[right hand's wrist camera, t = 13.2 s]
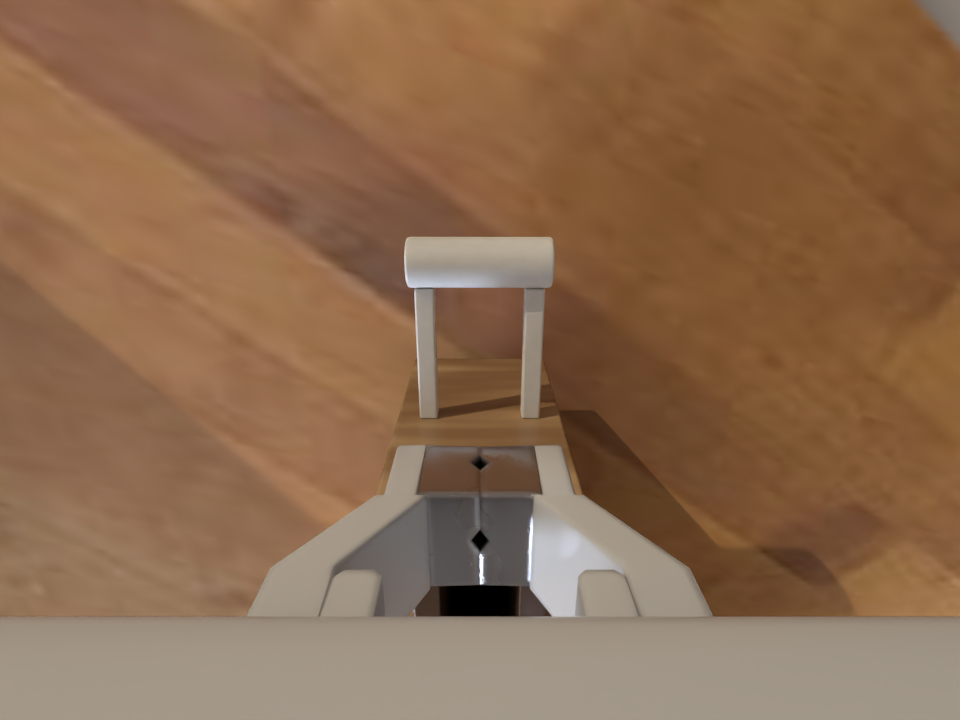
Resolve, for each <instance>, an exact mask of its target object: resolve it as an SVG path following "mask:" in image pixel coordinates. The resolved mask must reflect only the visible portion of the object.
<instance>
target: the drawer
mask: <svg viewBox="0 0 960 720" xmlns="http://www.w3.org/2000/svg"><path fill="white" fill-rule="evenodd" d="M404 266H405V278H406V283H407V285H408V287H410V288H415V291H414V296H415V319H416V341H417V359H416V360H415V363H414V367H413V370H412V374H411V377H410V380H409V384H408V387H407V391H406V394H405V397H404V401H403V404H402V408H401V411H400V415H399V418H398V421H397V425H396V428H395V432H394V435H393V438H392V442H391V445H390V449H389V452H388V455H387V459H386V462H385V466H384V469H383V473H382V476H381V479H380V483H379V486H378V490H377V493H376V495H384V494H385V490H386V486H387V483H388V479H389V475H390V472H391V468H392V464H393V461H394V457H395V454H396V450H397V448H398V447H399V446H400V445H426V446H427V445H439V446H480V447H489V446H530V445H534V446H539V445H561V446H562V447H563V451H564V454H565V458H566V461H567V465H568V468H569V472H570V476H571V479H572V483H573V486H574V490H575V494H576V495H583V492H582V489H581V485H580V482H579V479H578V475H577V472H576V468H575V465H574V462H573V458H572V455H571V451H570V448H569V445H568V441H567V438H566V434H565V431H564V428H563V424H562V421H561V417H560V414H559V411H558V407H557V404H556V401H555V397H554V394H553V390H552V387H551V384H550V380H549V377H548V373H547V370H546V367H545V363H544V360H543V359H542V347H543V325H544V303H545V290H544V288H549V287H551V286H552V284H553V280H554V271H555V247H554V241H553V239H552V238H551V237H408V238H407V239H406V242H405V252H404ZM435 288H524V312H523V345H522V359H437V338H436V304H435ZM545 613H546V608H545V607H544V606H543V604H542V603H541V602H540V601H539V599H538V598H537V597H536V596H535V594H534V593H533V592H532V591H531V589H530V586H498V585H460V586H430V590H429V591H428V593H427V594H426V595H425V596H424V597H423V599H422V600H421V601H420V602H419V604H418V605H417V606H416V607H415V609H414V616H545Z"/></svg>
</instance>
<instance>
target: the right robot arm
mask: <svg viewBox="0 0 960 720" xmlns="http://www.w3.org/2000/svg"><path fill="white" fill-rule="evenodd" d="M460 585H498V586H530V589H531V591H532V592H533V593H534V594H535V596H536V597H537V598H538V599H539V601H540V602H541V603H542V604H543V606H544V607H545V608H546V609H547V611H548V612H549V613H550V614H551V616H409V615H410V614H411V612H412V611H413V610H414V609H415V607H416V606H417V605H418V604H419V602H420V601H421V600H422V599H423V597H424V596H425V595H426V594H427V593H428V591H429V590H430V586H460ZM0 720H960V617H955V616H713V614H712V612H711V610H710V608H709V606H708V604H707V602H706V600H705V598H704V596H703V594H702V592H701V590H700V588H699V586H698V584H697V582H696V580H695V578H694V576H693V574H692V572H691V569H690V568H689V567H687V566H686V565H685V564H683V563H682V562H680V561H679V560H677V559H676V558H674V557H673V556H672V555H670V554H669V553H667V552H666V551H664V550H663V549H661V548H660V547H658V546H657V545H656V544H654V543H653V542H651V541H650V540H648V539H647V538H645V537H644V536H643V535H641V534H640V533H638V532H637V531H635V530H634V529H632V528H631V527H629V526H628V525H627V524H625V523H624V522H622V521H621V520H619V519H618V518H616V517H615V516H614V515H612V514H611V513H609V512H608V511H606V510H605V509H603V508H602V507H600V506H599V505H598V504H596V503H595V502H593V501H592V500H590V499H589V498H587V497H586V496H585V495H576V494H575V490H574V486H573V483H572V479H571V476H570V472H569V468H568V465H567V461H566V458H565V454H564V451H563V447H562V446H561V445H539V446H534V445H530V446H489V447H480V446H439V445H427V446H426V445H400V446H399V447H398V448H397V450H396V454H395V457H394V461H393V464H392V468H391V472H390V475H389V479H388V483H387V486H386V490H385V494H384V495H375V496H374V497H373V498H371V499H370V500H368V501H367V502H365V503H364V504H362V505H361V506H359V507H358V508H357V509H355V510H354V511H352V512H351V513H349V514H348V515H346V516H345V517H343V518H342V519H341V520H339V521H338V522H336V523H335V524H333V525H332V526H330V527H329V528H327V529H326V530H324V531H323V532H322V533H320V534H319V535H317V536H316V537H314V538H313V539H311V540H310V541H308V542H307V543H306V544H304V545H303V546H301V547H300V548H298V549H297V550H295V551H294V552H292V553H291V554H290V555H288V556H287V557H285V558H284V559H282V560H281V561H279V562H278V563H276V564H275V565H273V566H272V567H271V568H270V570H269V572H268V574H267V576H266V578H265V580H264V582H263V584H262V586H261V588H260V590H259V592H258V594H257V596H256V598H255V600H254V602H253V604H252V606H251V608H250V610H249V612H248V614H247V616H0Z"/></svg>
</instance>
